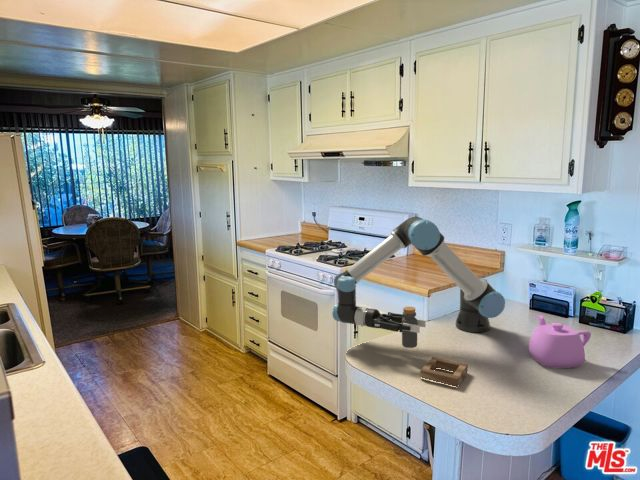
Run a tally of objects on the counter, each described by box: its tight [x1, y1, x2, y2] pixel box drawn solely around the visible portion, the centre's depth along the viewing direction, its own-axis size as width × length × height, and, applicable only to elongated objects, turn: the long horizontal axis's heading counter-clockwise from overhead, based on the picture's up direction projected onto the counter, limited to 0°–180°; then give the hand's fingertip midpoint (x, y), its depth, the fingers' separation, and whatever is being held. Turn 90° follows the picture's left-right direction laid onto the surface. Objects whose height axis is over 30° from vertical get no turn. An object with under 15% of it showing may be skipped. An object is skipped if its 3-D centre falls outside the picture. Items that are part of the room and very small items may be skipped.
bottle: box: [401, 306, 418, 349], centre depth 172 cm, size 6×6×15 cm
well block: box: [419, 356, 469, 387], centre depth 159 cm, size 13×13×4 cm
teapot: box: [528, 314, 592, 369], centre depth 170 cm, size 23×21×15 cm
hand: (422, 326), depth 170 cm, fingers closed on bottle, 6 cm apart
